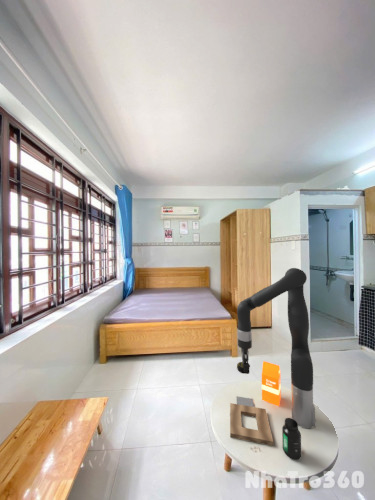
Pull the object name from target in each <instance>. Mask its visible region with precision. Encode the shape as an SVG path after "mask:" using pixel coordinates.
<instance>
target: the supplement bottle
mask: <svg viewBox="0 0 375 500" xmlns="http://www.w3.org/2000/svg"><path fill="white" fill-rule="evenodd" d="M281 431H282V450H283V452H284V454H285V455H286V457H288V458H289V459H291V460H293V461H299V460H301V458H302V434H301V432H300V429H299V425H298V424H297V422H296V421H295V420H294V419H292V417H286V418H285V419H284V424H283V426H282V428H281Z"/></svg>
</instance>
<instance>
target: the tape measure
mask: <svg viewBox="0 0 375 500" xmlns="http://www.w3.org/2000/svg"><path fill="white" fill-rule="evenodd" d="M244 363H245V362H244ZM250 368H251V364H250V363H249V362H248V372H244V371H243V362H242V361H239V362H237V365H236V370H237V372H238V373H240V374H245V375H248V374H250Z"/></svg>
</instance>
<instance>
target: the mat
mask: <svg viewBox="0 0 375 500" xmlns="http://www.w3.org/2000/svg"><path fill="white" fill-rule="evenodd" d="M235 398H236V404H239V405H245V406H251V407H255V404H254V399H253V398H250V397H244V396H237V395H236V397H235Z"/></svg>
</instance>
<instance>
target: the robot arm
mask: <svg viewBox="0 0 375 500" xmlns="http://www.w3.org/2000/svg"><path fill="white" fill-rule="evenodd" d="M306 281H307V275H306V272H304V270H302V269H300V268H297V267H292V268H289V269H287V270H286V271H285V274H284V276H282V277H281V278H280V279H279V280H277V281H276V282H274V283H273V284H271V285H267V286H266V287H264V288H262V289H260V290H258V291H257V292H256V293H254V294H252V295H250V297H247V298H245V299H243V300H242V301H240V302H239V303H238V305H237V307H236V308H237V309H236V313H237V314H236V315H237V346H238V348H240V353H241V360H242V361H241V362H243V371H244V372H248V363H249V360H250V359H249V355H250V351H249V350H250V349H252V347H253V341H252V339H253V337H252V333H253V332H252V322H251V311H253V310H254V309H256V308H260V307H262V306H264V305H266V304H267V303H268V302H272V300H273V299H275V298H277V297H279V296H280V295H282V294H284V293H286V292H287V322H288V327H289V328H288V329H289V331H290V333H289V334H290V337H291V352H290V372H291V373H290V378H291V379H290V381H291V387H290V388H291V389H290V391H291V418H292V419H294V420H295V421H296V422H297V424H298V427H301V428H304V429H312V428H316V406H315V404H314V365H313V361H312V356H311V353H310V348H309V340H308V339H309V333H310V332H309V331H310V318H309V311H308V306H307V302H306V300H305V299H306V298H305V296H304V295H305V294H304V285H305V284H306ZM244 362H245V363H244Z"/></svg>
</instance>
